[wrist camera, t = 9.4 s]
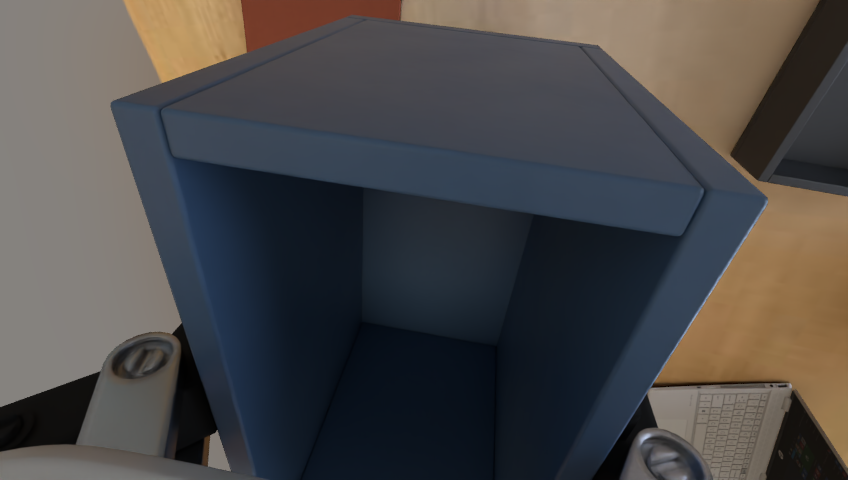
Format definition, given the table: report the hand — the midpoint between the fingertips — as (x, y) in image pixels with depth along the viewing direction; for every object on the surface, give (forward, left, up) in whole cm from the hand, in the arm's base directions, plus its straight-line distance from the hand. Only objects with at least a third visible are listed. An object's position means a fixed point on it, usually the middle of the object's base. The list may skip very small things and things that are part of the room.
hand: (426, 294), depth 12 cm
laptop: (+32, +32, -22) cm, 50 cm away
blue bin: (0, 0, -4) cm, 4 cm away
